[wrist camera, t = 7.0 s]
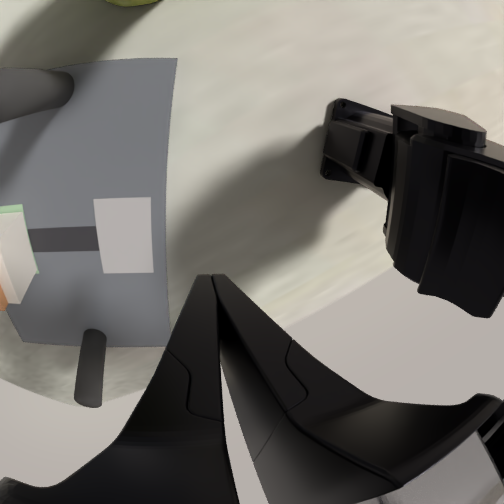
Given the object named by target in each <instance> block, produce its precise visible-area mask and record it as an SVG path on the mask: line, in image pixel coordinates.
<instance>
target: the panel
mask: <svg viewBox="0 0 504 504" xmlns="http://www.w3.org/2000/svg"><path fill="white" fill-rule="evenodd" d="M176 66H177V58H135V59H118V60H107V61H97V62H89V63H82V64H76V65H70V66H64V67H59V68H54V69H49V70H54V71H63V72H67V73H69V74H70V75H71V76H72V77H73V80H74V92H73V94H72V97H71V98H70V100H69V101H68V102H67V103H66V104H65V105H63V106H61V107H59V108H54V109H50V110H46V111H42V112H38V113H34V114H30V115H26V116H23V117H19V118H16V119H13V120H9V121H6V122H3V123H0V214H3V213H13V212H23V217H24V221H25V226H26V230H27V235H28V239H29V243H30V247H31V250H32V254H33V257H34V261H35V264H36V268H37V271H36V273H35V275H34V277H33V279H32V281H31V283H30V285H29V287H28V289H27V291H26V293H25V295H24V297H23V299H22V301H21V304H13V303H8V305H7V307H6V311H7V313H8V315H9V317H10V319H11V321H12V323H13V325H14V326H15V328H16V330H17V332H18V334H19V336H20V337H21V339H22V341H23V342H30V343H40V344H52V345H67V346H81V344H82V339H83V334H84V331H85V330H87V329H97V330H100V331H101V332H103V333H104V334H105V335H106V337H107V342H106V347H163V346H167V343H168V341H169V339H170V336H171V332H170V320H169V307H168V290H167V268H166V179H167V158H168V142H169V129H170V117H171V107H172V98H173V89H174V81H175V74H176Z"/></svg>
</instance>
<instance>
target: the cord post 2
mask: <svg viewBox="0 0 504 504" xmlns="http://www.w3.org/2000/svg"><path fill="white" fill-rule="evenodd" d="M106 342H107V337H106V335H105V334H104V333H103V332H101V331H100V330H97V329H87V330H85V331H84V334H83V339H82V344H81V350H80V356H79V362H78V368H77V376H76V383H75V392H74V400H75V401H76V402H77V403H79V404H80V405H83V406H86V407H90V408H98V407H100V406H101V405H102V389H103V374H104V362H105V351H106Z"/></svg>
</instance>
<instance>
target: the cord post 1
mask: <svg viewBox="0 0 504 504" xmlns="http://www.w3.org/2000/svg"><path fill="white" fill-rule="evenodd" d="M73 92H74V80H73V77H72V76H71V75H70V74H69V73H67V72H63V71H54V70H43V69H27V68H1V69H0V123H3V122H6V121H9V120H13V119H16V118H19V117H23V116H26V115H30V114H34V113H38V112H42V111H46V110H50V109H54V108H59V107H61V106H63V105H65V104H66V103H67V102H68V101H69V100H70V98H71V97H72V94H73Z"/></svg>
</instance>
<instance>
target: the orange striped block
mask: <svg viewBox="0 0 504 504" xmlns="http://www.w3.org/2000/svg"><path fill="white" fill-rule="evenodd" d="M36 271H37V268H36V264H35V261H34V257H33V254H32V250H31V247H30V243H29V239H28V235H27V230H26V226H25V221H24V217H23V212H13V213H3V214H0V311H5V309H6V307H7V305H8V303H13V304H21V301H22V299H23V297H24V295H25V293H26V291H27V289H28V287H29V285H30V283H31V281H32V279H33V277H34V275H35V273H36Z"/></svg>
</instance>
